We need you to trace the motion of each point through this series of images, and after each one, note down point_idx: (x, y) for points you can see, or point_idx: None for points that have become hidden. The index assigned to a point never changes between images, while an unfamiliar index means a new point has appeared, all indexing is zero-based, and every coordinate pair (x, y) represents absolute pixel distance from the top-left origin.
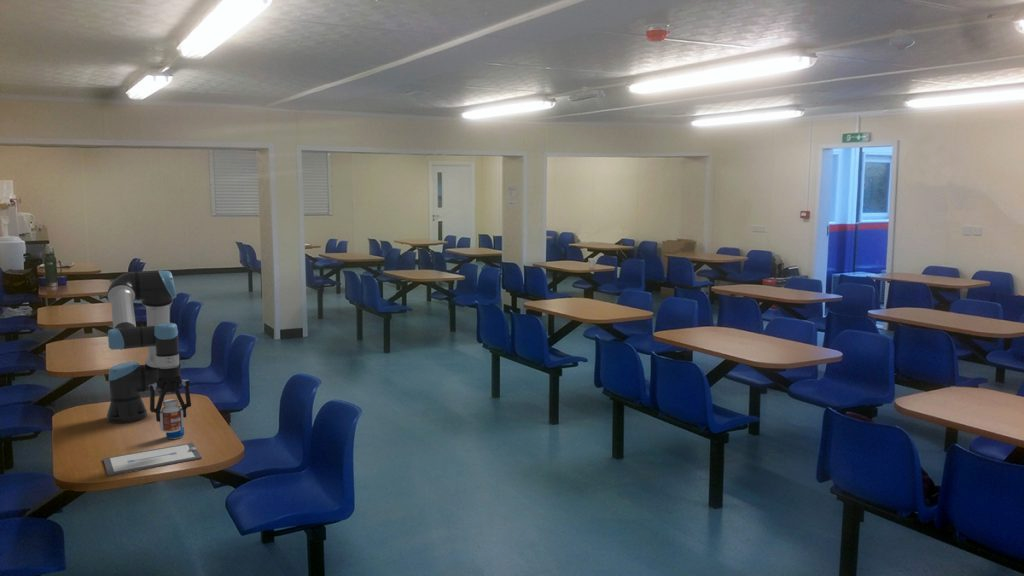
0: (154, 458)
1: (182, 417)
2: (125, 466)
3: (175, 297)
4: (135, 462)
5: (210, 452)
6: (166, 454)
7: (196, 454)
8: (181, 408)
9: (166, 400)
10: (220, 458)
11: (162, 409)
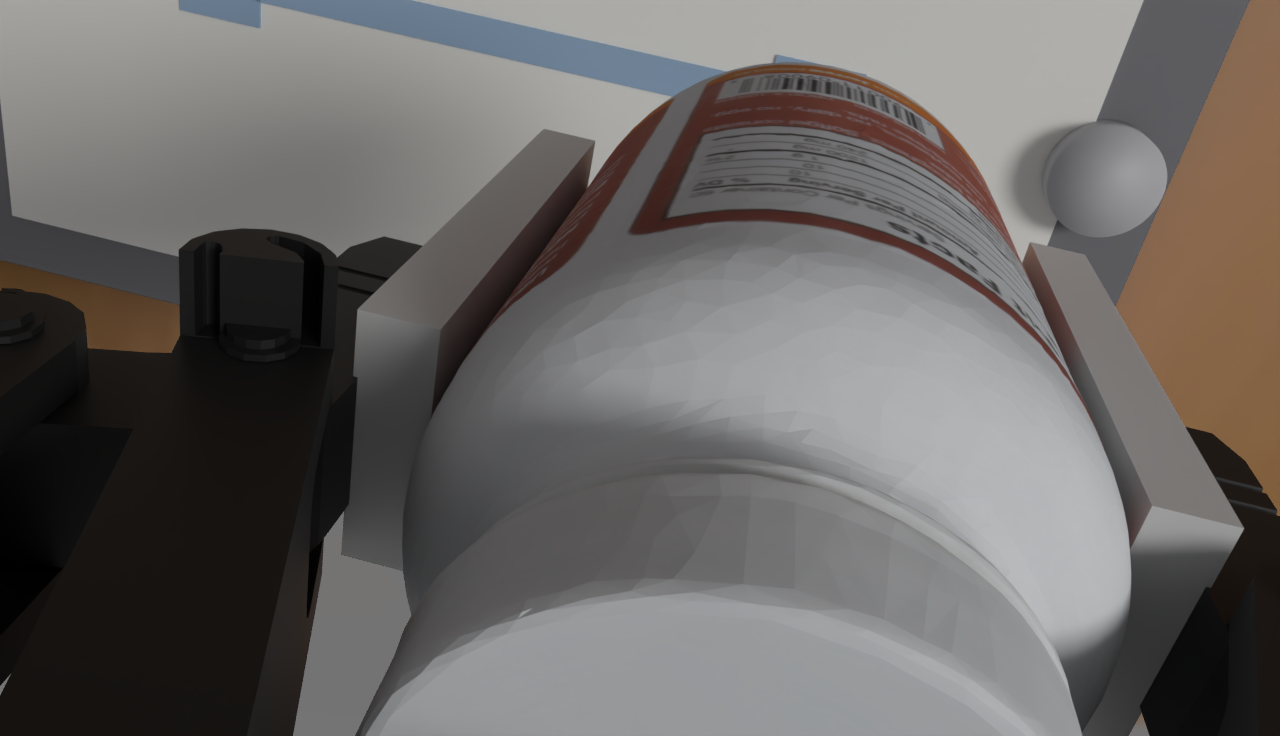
0: (519, 109)
1: None
2: (140, 133)
3: None
4: (268, 76)
5: (1258, 373)
6: (711, 73)
7: None
8: (1212, 561)
9: (561, 694)
10: None
11: (404, 575)
